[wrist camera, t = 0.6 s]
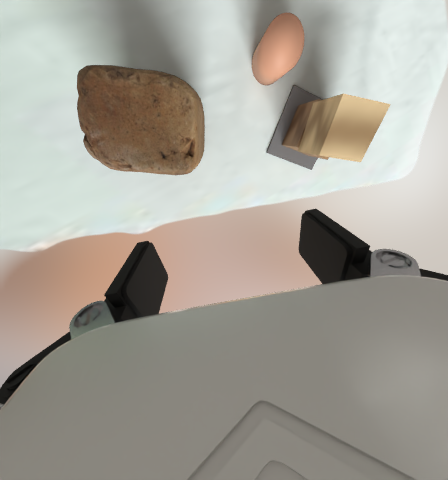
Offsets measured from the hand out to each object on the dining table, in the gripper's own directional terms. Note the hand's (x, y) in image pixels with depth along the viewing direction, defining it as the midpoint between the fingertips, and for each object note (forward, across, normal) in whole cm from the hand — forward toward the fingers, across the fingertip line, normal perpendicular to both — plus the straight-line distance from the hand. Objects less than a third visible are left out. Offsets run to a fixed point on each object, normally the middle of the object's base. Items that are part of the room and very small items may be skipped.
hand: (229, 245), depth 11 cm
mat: (+26, -17, -3) cm, 31 cm away
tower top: (+20, -17, -3) cm, 26 cm away
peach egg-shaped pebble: (+26, -11, -13) cm, 31 cm away
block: (+26, +6, -7) cm, 28 cm away
